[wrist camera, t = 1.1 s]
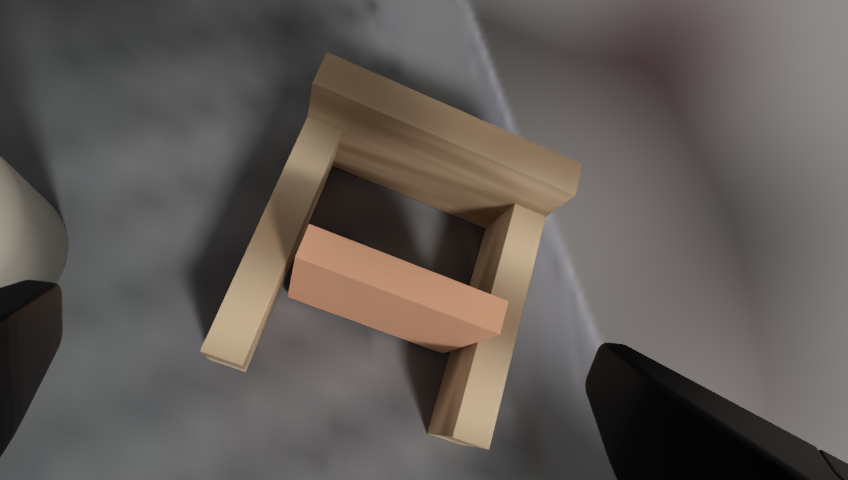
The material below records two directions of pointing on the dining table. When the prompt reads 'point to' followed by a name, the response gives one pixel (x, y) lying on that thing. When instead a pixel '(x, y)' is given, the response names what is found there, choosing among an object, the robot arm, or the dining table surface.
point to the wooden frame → (420, 180)
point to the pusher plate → (391, 294)
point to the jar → (28, 232)
